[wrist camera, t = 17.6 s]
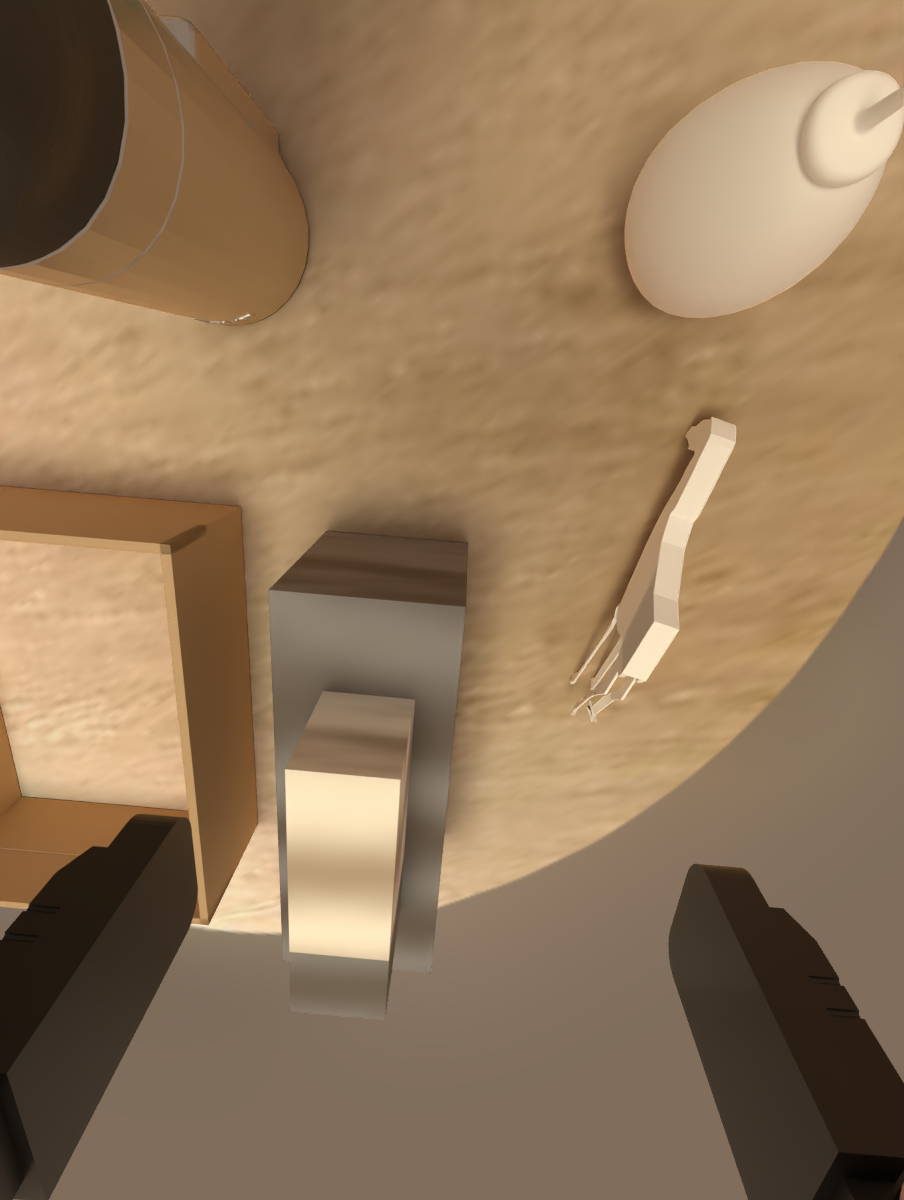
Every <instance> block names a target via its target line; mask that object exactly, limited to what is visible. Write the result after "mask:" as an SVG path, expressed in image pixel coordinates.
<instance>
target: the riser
mask: <svg viewBox="0 0 904 1200" xmlns="http://www.w3.org/2000/svg"><path fill="white" fill-rule="evenodd" d="M467 550H468V543H460V542H449V541H437V540H425V539H414V538H402V537H390V536H379V535H367V534H356V533H344V532H332V531H326V532H325V533H324V534H323V535H322V536H321V537H320V538H319V539H318V540H317V541H316V542H315V543H314V544H313V545H312V546H311V547H310V548H309V549H308V550H307V551H306V552H305V553H304V554H303V555H302V556H301V558H300V559H299V560H298V561H297V562H296V563H295V564H294V565H293V566H292V567H291V568H290V569H289V570H288V571H287V572H286V573H285V574H284V575H283V576H282V577H281V578H280V579H279V580H278V581H277V582H276V583H275V584H274V585H273V586H272V587H271V588H270V589H269V612H270V638H271V664H272V690H273V715H274V741H275V767H276V793H277V819H278V845H279V871H280V897H281V923H282V949H283V961H289V962H290V954H289V913H288V872H287V831H286V790H285V768H286V766H287V764H288V762H289V760H290V758H291V756H292V754H293V752H294V750H295V747H296V745H297V743H298V741H299V739H300V737H301V735H302V733H303V731H304V729H305V727H306V725H307V723H308V721H309V719H310V717H311V714H312V712H313V710H314V708H315V706H316V704H317V702H318V700H319V698H320V696H321V694H322V692H323V691H329V692H340V693H351V694H362V695H373V696H383V697H394V698H405V699H415V707H414V721H413V735H412V749H411V763H410V778H409V792H408V806H407V820H406V834H405V848H404V862H403V876H402V890H401V904H400V915H399V922H398V929H397V936H396V944H395V951H394V958H393V966H392V971H402V972H403V971H404V972H413V973H414V972H415V973H425V974H431V968H432V958H433V947H434V937H435V926H436V916H437V905H438V895H439V884H440V874H441V863H442V853H443V842H444V832H445V821H446V811H447V800H448V790H449V779H450V768H451V758H452V747H453V737H454V726H455V716H456V705H457V695H458V684H459V674H460V663H461V653H462V642H463V632H464V621H465V611H466V585H467Z"/></svg>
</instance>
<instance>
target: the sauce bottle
mask: <svg viewBox="0 0 904 1200" xmlns="http://www.w3.org/2000/svg"><path fill="white" fill-rule="evenodd" d="M903 123H904V86H903V87H901V88H900V87H899V85H898V83H897V82H896V81H895V79H894V78H893V77H891V76H890V75H888V74H887V73H885V72H881V71H877V70H865V71H864V70H863V69H861V68H859V67H856V66H852V65H849V64H845V63H840V62H836V61H806V62H798V63H793V64H788V65H783V66H778V67H774V68H771V69H767V70H764V71H762V72H759V73H757V74H754V75H752V76H749V77H747V78H744V79H742V80H739V81H737V82H735V83H733V84H731V85H729V86H727V87H725V88H724V89H722V90H720V91H719V92H717V93H716V94H714V95H712V96H711V97H709V98H708V99H706V100H704V101H703V102H701V103H700V104H699V105H697V106H696V107H695V108H694V109H692V110H691V111H690V112H689V113H688V114H687V115H686V116H684V117H683V118H682V119H681V120H680V121H679V122H678V123H677V124H676V125H674V126H673V127H672V128H671V129H670V130H669V131H668V132H667V134H666V135H665V136H664V137H663V139H662V140H661V141H660V143H659V144H658V145H657V147H656V148H655V149H654V150H653V152H652V153H651V154H650V156H649V157H648V159H647V160H646V162H645V164H644V166H643V168H642V170H641V172H640V174H639V176H638V178H637V180H636V182H635V184H634V187H633V190H632V193H631V197H630V200H629V204H628V208H627V212H626V221H625V230H624V235H625V253H626V258H627V263H628V268H629V271H630V273H631V276H632V279H633V281H634V283H635V285H636V286H637V288H638V290H639V291H640V293H641V294H642V296H643V297H644V298H645V299H646V300H647V301H649V302H650V303H651V304H652V305H653V306H654V307H656V308H658V309H660V310H662V311H664V312H665V313H668V314H671V315H676V316H680V317H684V318H711V317H717V316H723V315H729V314H733V313H736V312H739V311H742V310H745V309H748V308H751V307H754V306H756V305H759V304H761V303H763V302H765V301H767V300H769V299H771V298H773V297H775V296H776V295H778V294H780V293H782V292H784V291H786V290H788V289H789V288H791V287H792V286H794V285H795V284H796V283H798V282H799V281H800V280H802V279H803V278H804V277H805V276H807V275H808V274H809V273H811V272H812V271H813V270H814V269H816V268H817V267H818V266H819V265H821V264H822V263H823V262H824V261H825V260H826V259H827V258H828V257H829V256H830V255H831V253H832V252H833V251H834V250H835V249H836V248H837V247H838V246H839V245H840V243H841V242H842V241H843V240H844V239H845V238H846V237H847V236H848V234H849V233H850V232H851V231H852V229H853V228H854V227H855V225H856V224H857V222H858V221H859V219H860V217H861V216H862V214H863V212H864V211H865V209H866V208H867V206H868V204H869V203H870V201H871V199H872V198H873V196H874V194H875V191H876V189H877V187H878V185H879V182H880V180H881V177H882V175H883V172H884V169H885V166H886V162H887V159H888V158H889V157H890V156H891V154H892V152H893V151H894V149H895V148H896V145H897V143H898V141H899V138H900V136H901V132H902V128H903Z"/></svg>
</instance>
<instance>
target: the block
mask: <svg viewBox="0 0 904 1200" xmlns="http://www.w3.org/2000/svg"><path fill="white" fill-rule="evenodd" d="M414 707H415V699H405V698H394V697H383V696H373V695H362V694H351V693H340V692H329V691H323V692H322V694H321V696H320V698H319V700H318V702H317V704H316V706H315V708H314V710H313V712H312V714H311V717H310V719H309V721H308V723H307V725H306V727H305V729H304V731H303V733H302V735H301V737H300V739H299V741H298V743H297V745H296V747H295V750H294V752H293V754H292V756H291V758H290V760H289V762H288V764H287V766H286V768H285V790H286V831H287V872H288V913H289V954H290V993H291V994H290V995H291V1011H293V1012H305V1013H314V1014H325V1015H337V1016H347V1017H358V1018H369V1019H379V1020H385V1017H386V1009H387V1001H388V995H389V987H390V980H391V973H392V966H393V958H394V951H395V944H396V936H397V929H398V922H399V915H400V904H401V890H402V876H403V862H404V848H405V834H406V820H407V806H408V792H409V778H410V763H411V749H412V735H413V721H414Z"/></svg>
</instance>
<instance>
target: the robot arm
mask: <svg viewBox="0 0 904 1200" xmlns="http://www.w3.org/2000/svg"><path fill="white" fill-rule="evenodd" d="M308 247H309V245H308V222H307V217H306V212H305V207H304V203H303V200H302V198H301V195H300V193H299V190H298V188H297V185H296V183H295V181H294V179H293V178H292V176H291V175H290V173H289V171H288V170H287V168H286V166H285V165H284V163H283V161H282V159H281V157H280V153H279V145H278V133H277V131H276V130H275V128H274V127H273V126H272V125H271V123H270V122H269V121H268V119H267V118H266V117H265V116H264V114H263V113H262V112H261V110H260V109H259V108H258V107H257V105H256V104H255V103H254V102H253V100H252V99H251V98H250V96H249V95H248V94H247V93H246V91H245V90H244V89H243V87H242V86H241V85H240V84H239V82H238V81H237V80H236V78H235V77H234V76H233V75H232V73H231V72H230V71H229V69H228V68H227V67H226V66H225V64H224V63H223V62H222V60H221V59H220V58H219V57H218V55H217V54H216V53H215V51H214V50H213V49H212V48H211V46H210V45H209V44H208V43H207V41H206V40H205V39H204V37H203V36H202V35H201V34H200V32H199V31H198V30H197V28H196V27H195V26H194V25H193V24H192V23H191V22H189V21H188V20H186V19H183V18H179V17H172V16H160V15H156V14H155V13H154V12H153V11H152V9H151V8H150V7H149V6H148V5H147V4H146V2H145V1H144V0H0V274H2V275H7V276H11V277H15V278H20V279H24V280H28V281H33V282H37V283H42V284H46V285H51V286H55V287H59V288H64V289H68V290H72V291H77V292H81V293H85V294H90V295H94V296H99V297H103V298H107V299H112V300H116V301H120V302H125V303H129V304H133V305H138V306H142V307H146V308H151V309H155V310H160V311H164V312H168V313H173V314H177V315H181V316H186V317H190V318H192V319H196V320H200V321H204V322H209V323H217V324H224V325H246V324H250V323H253V322H257V321H260V320H262V319H264V318H266V317H268V316H269V315H271V314H273V313H275V312H276V311H277V310H278V309H279V308H280V307H281V306H282V305H283V304H284V303H286V302H287V301H288V300H289V298H290V297H291V295H292V293H293V292H294V290H295V289H296V287H297V286H298V284H299V281H300V279H301V276H302V274H303V271H304V268H305V265H306V259H307V253H308ZM197 896H198V884H197V875H196V865H195V856H194V847H193V837H192V828H191V824H190V821H189V819H187V818H185V817H174V816H163V815H151V814H136V815H135V816H133V817H132V818H131V819H130V820H129V821H128V822H127V823H126V824H125V826H124V827H123V828H122V830H121V831H120V832H119V833H118V835H117V836H116V837H115V838H114V840H113V841H112V842H111V844H110V845H109V846H108V847H99V846H92V847H91V848H89V849H88V850H86V851H85V852H84V853H82V854H81V855H79V856H78V857H77V858H75V859H74V860H72V861H71V862H70V863H68V864H67V865H65V866H64V867H63V868H61V869H60V870H58V871H57V872H56V873H55V874H54V875H53V876H52V878H51V879H50V880H49V881H48V882H47V883H46V885H45V886H44V887H43V888H42V889H41V891H40V892H39V893H38V894H37V895H36V896H35V898H34V899H33V900H32V901H31V902H30V903H29V907H28V909H27V911H23V912H22V913H21V914H20V915H19V916H18V918H17V919H16V920H15V921H14V922H13V924H12V925H11V926H10V927H9V928H8V929H7V931H6V932H5V936H4V938H3V939H2V940H0V1200H13V1199H21V1200H49V1198H50V1196H51V1194H52V1192H53V1190H54V1188H55V1187H56V1184H57V1183H58V1181H59V1179H60V1177H61V1175H62V1173H63V1171H64V1169H65V1167H66V1165H67V1163H68V1161H69V1159H70V1158H71V1156H72V1154H73V1152H74V1150H75V1148H76V1146H77V1144H78V1142H79V1140H80V1138H81V1136H82V1134H83V1133H84V1130H85V1128H86V1127H87V1125H88V1123H89V1121H90V1119H91V1117H92V1115H93V1113H94V1111H95V1109H96V1107H97V1105H98V1104H99V1102H100V1100H101V1098H102V1096H103V1094H104V1092H105V1090H106V1088H107V1086H108V1084H109V1082H110V1080H111V1078H112V1076H113V1075H114V1073H115V1070H116V1069H117V1067H118V1065H119V1063H120V1061H121V1059H122V1057H123V1055H124V1053H125V1051H126V1050H127V1047H128V1046H129V1044H130V1042H131V1040H132V1038H133V1036H134V1034H135V1032H136V1030H137V1028H138V1026H139V1024H140V1022H141V1021H142V1019H143V1017H144V1015H145V1013H146V1011H147V1009H148V1007H149V1005H150V1003H151V1001H152V999H153V997H154V996H155V994H156V992H157V990H158V988H159V986H160V984H161V982H162V980H163V978H164V976H165V974H166V972H167V970H168V968H169V966H170V964H171V963H172V961H173V959H174V957H175V955H176V953H177V951H178V949H179V947H180V945H181V943H182V942H183V940H184V938H185V936H186V934H187V932H188V930H189V927H190V925H191V922H192V919H193V916H194V912H195V908H196V903H197ZM669 959H670V966H671V970H672V974H673V978H674V981H675V984H676V987H677V990H678V993H679V996H680V999H681V1002H682V1005H683V1007H684V1011H685V1014H686V1016H687V1019H688V1022H689V1025H690V1028H691V1031H692V1034H693V1037H694V1040H695V1043H696V1046H697V1049H698V1052H699V1055H700V1058H701V1061H702V1064H703V1067H704V1070H705V1073H706V1076H707V1079H708V1082H709V1085H710V1087H711V1091H712V1093H713V1097H714V1100H715V1103H716V1105H717V1108H718V1111H719V1114H720V1117H721V1120H722V1123H723V1126H724V1129H725V1132H726V1135H727V1138H728V1141H729V1144H730V1147H731V1150H732V1153H733V1156H734V1158H735V1162H736V1165H737V1168H738V1171H739V1174H740V1176H741V1179H742V1183H743V1185H744V1188H745V1191H746V1194H747V1197H748V1200H904V1083H903V1082H902V1080H901V1078H900V1077H899V1075H898V1073H897V1071H896V1070H895V1068H894V1067H893V1065H892V1063H891V1062H890V1060H889V1058H888V1057H887V1055H886V1054H885V1052H884V1051H883V1049H882V1047H881V1045H880V1044H879V1042H878V1041H877V1039H876V1038H875V1036H874V1034H873V1033H872V1031H871V1029H870V1028H869V1026H868V1025H867V1023H866V1021H865V1019H861V1018H860V1016H859V1010H858V1008H857V1006H856V1005H855V1003H854V1002H853V1000H852V998H851V997H850V995H849V993H848V992H847V990H846V989H845V987H844V986H841V985H840V983H839V977H838V976H837V974H836V972H835V971H834V969H833V967H832V966H831V964H830V963H829V961H828V959H827V958H826V956H825V954H824V953H823V951H822V950H821V948H820V946H819V945H818V943H817V941H816V940H815V939H814V938H813V937H812V936H811V935H810V934H809V933H808V932H807V931H805V929H803V928H802V926H801V925H800V924H799V923H798V922H796V921H795V920H794V919H793V918H792V917H791V916H790V915H789V914H788V913H787V912H786V911H785V910H784V909H783V908H772V907H769V906H768V904H767V902H766V901H765V899H764V897H763V895H762V894H761V892H760V890H759V888H758V886H757V885H756V883H755V881H754V880H753V878H752V877H751V875H750V874H749V873H748V871H746V870H745V869H743V868H736V867H725V866H713V865H702V864H693V865H692V866H691V867H690V868H689V870H688V873H687V876H686V879H685V883H684V886H683V889H682V893H681V896H680V899H679V903H678V906H677V909H676V913H675V916H674V919H673V923H672V926H671V929H670V935H669Z"/></svg>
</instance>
